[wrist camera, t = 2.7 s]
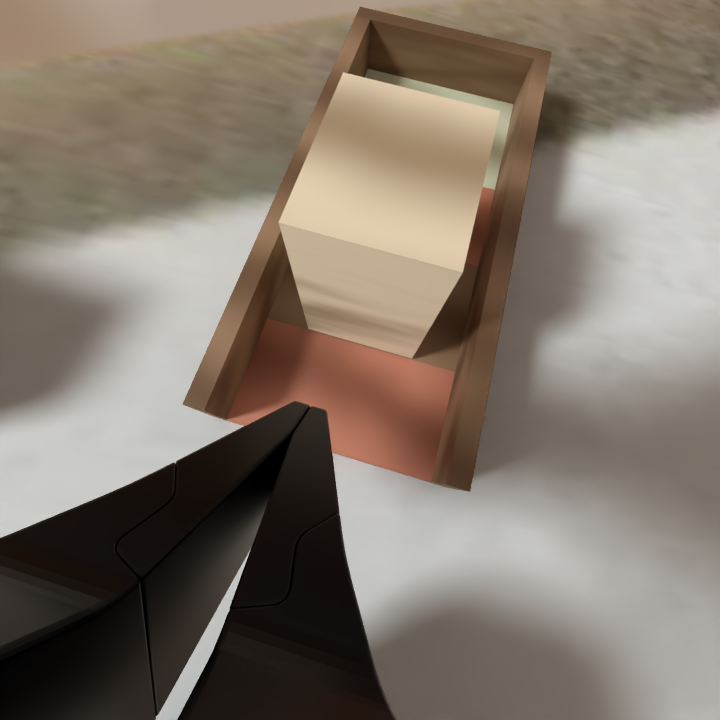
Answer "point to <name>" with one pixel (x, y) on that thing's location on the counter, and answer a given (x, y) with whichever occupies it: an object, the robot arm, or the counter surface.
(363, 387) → the tray
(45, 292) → the counter surface
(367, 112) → the sliding block
